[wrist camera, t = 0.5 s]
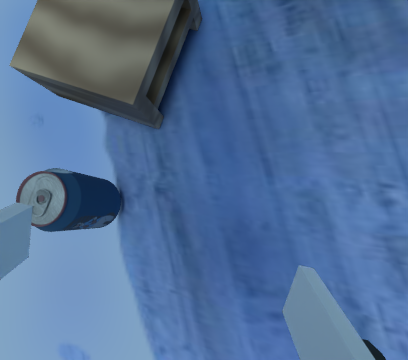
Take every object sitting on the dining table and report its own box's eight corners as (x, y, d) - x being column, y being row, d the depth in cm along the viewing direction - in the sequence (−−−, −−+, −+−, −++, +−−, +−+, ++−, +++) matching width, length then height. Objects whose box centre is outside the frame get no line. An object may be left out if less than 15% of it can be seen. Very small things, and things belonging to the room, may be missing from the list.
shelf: (100, -5, 44) (63, -60, 35) (202, 18, 40) (188, -36, 32) (58, 96, 43) (9, 65, 34) (158, 129, 39) (132, 104, 30)
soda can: (92, 173, 40) (27, 156, 28) (132, 189, 39) (81, 179, 27) (73, 216, 40) (0, 217, 28) (113, 234, 38) (53, 243, 27)
